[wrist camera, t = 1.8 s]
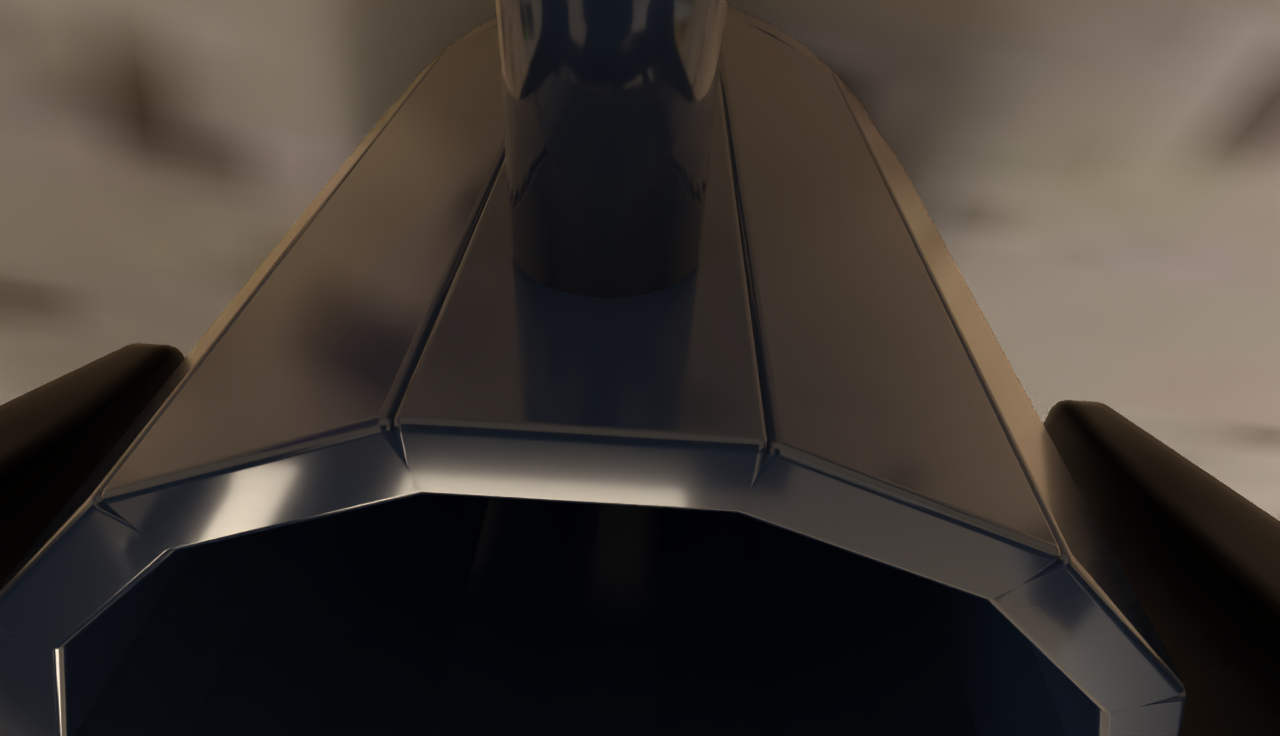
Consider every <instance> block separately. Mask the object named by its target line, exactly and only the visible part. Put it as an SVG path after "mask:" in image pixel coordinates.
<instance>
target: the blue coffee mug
mask: <svg viewBox="0 0 1280 736" xmlns="http://www.w3.org/2000/svg"><path fill="white" fill-rule="evenodd" d="M727 1H728V0H495V7H496V18H495V19H493V20H491V21H489V22H487V23H485V24H483V25H481V26H479V27H477V28H476V29H474V30H473V31H471V32H470V33H469V34H467V35H466V36H464V37H463V38H461V39H460V40H458V41H457V42H454V43H452V44H451V45H450V46H449V47H447V48H444V49H443V50H442V51H441V52H440V53H439V55H438V56H437V57H436V58H435V59H434V60H433V61H432V62H431V63H430V65H429V66H428V67H427V68H426V69H425V70H423V71H422V72H421V73H420V74H419V75H418V77H417V78H416V79H415V80H414V81H413V83H412V84H411V85H410V86H409V88H408V89H407V90H406V91H405V92H404V94H403V95H402V96H401V97H400V98H399V99H398V100H397V101H396V102H395V104H394V105H393V106H392V107H391V108H390V109H389V110H388V111H387V112H386V114H385V115H384V116H383V117H382V118H381V119H380V120H379V121H378V122H377V124H376V125H375V126H374V127H373V128H372V129H371V130H370V132H369V133H368V134H367V135H366V136H365V138H364V139H363V140H362V141H361V143H360V144H359V145H358V146H357V147H356V149H355V150H354V151H353V152H352V154H351V155H350V156H349V157H348V159H347V160H346V161H345V162H344V163H343V165H342V166H341V167H340V168H339V170H338V171H337V172H336V173H335V175H334V176H333V177H332V178H331V179H330V181H329V182H328V183H327V184H326V186H325V187H324V188H323V189H322V190H321V192H320V193H319V194H318V195H317V197H316V198H315V199H314V200H313V202H312V203H311V204H310V205H309V206H308V208H307V209H306V210H305V211H304V213H303V214H302V215H301V216H300V218H299V219H298V220H297V221H296V222H295V224H294V225H293V226H292V227H291V229H290V230H289V231H288V232H287V233H286V235H285V236H284V237H283V238H282V240H281V241H280V242H279V243H278V245H277V246H276V247H275V248H274V249H273V251H272V252H271V253H270V254H269V256H268V257H267V258H266V259H265V261H264V262H263V263H262V264H261V265H260V267H259V268H258V269H257V270H256V272H255V273H254V274H253V275H252V276H251V278H250V279H249V280H248V281H247V283H246V284H245V285H244V286H243V288H242V289H241V290H240V291H239V292H238V294H237V295H236V296H235V297H234V299H233V300H232V301H231V302H230V304H229V305H228V306H227V307H226V308H225V310H224V311H223V312H222V313H221V315H220V316H219V317H218V318H217V320H216V321H215V322H214V323H213V324H212V326H211V327H210V328H209V329H208V331H207V332H206V333H205V334H204V335H203V337H202V338H201V339H200V340H199V342H198V343H197V344H196V345H195V347H194V348H193V349H192V350H191V351H190V353H189V354H188V355H187V356H186V358H185V359H184V360H183V361H182V363H181V364H180V365H179V366H178V367H177V369H176V370H175V371H174V372H173V374H172V375H171V376H170V377H169V378H168V380H167V381H166V382H165V383H164V385H163V386H162V387H161V388H160V390H159V391H158V392H157V393H156V394H155V396H154V397H153V398H152V399H151V401H150V402H149V403H148V404H147V406H146V407H145V408H144V409H143V410H142V412H141V413H140V414H139V415H138V417H137V418H136V419H135V420H134V421H133V423H132V424H131V425H130V426H129V428H128V429H127V430H126V431H125V433H124V434H123V435H122V436H121V437H120V439H119V440H118V441H117V442H116V444H115V445H114V446H113V447H112V449H111V450H110V451H109V452H108V453H107V455H106V456H105V457H104V458H103V460H102V461H101V462H100V463H99V465H98V466H97V467H96V468H95V469H94V471H93V472H92V473H91V474H90V476H89V477H88V478H87V479H86V480H85V482H84V483H83V484H82V485H81V487H80V488H79V489H78V490H77V492H76V493H75V494H74V495H73V496H72V498H71V499H70V500H69V501H68V503H67V504H66V505H65V506H64V508H63V509H62V510H61V511H60V512H59V514H58V515H57V516H56V517H55V519H54V520H53V521H52V522H51V523H50V525H49V526H48V527H47V528H46V530H45V531H44V532H43V533H42V535H41V536H40V537H39V538H38V539H37V541H36V542H35V543H34V544H33V546H32V547H31V548H30V549H29V551H28V552H27V553H26V554H25V555H24V557H23V558H22V559H21V560H20V562H19V563H18V564H17V565H16V566H15V568H14V569H13V570H12V571H11V573H10V574H9V575H8V576H7V578H6V579H5V580H4V581H3V582H2V584H1V585H0V736H1181V730H1182V724H1183V718H1184V712H1185V705H1186V699H1187V698H1186V690H1185V688H1184V684H1183V680H1182V679H1181V677H1180V675H1179V673H1178V671H1177V669H1176V668H1175V666H1174V664H1173V662H1172V660H1171V658H1170V657H1169V655H1168V653H1167V651H1166V649H1165V647H1164V645H1163V644H1162V642H1161V640H1160V638H1159V636H1158V634H1157V633H1156V631H1155V629H1154V627H1153V625H1152V623H1151V622H1150V620H1149V618H1148V616H1147V614H1146V612H1145V611H1144V609H1143V607H1142V605H1141V603H1140V601H1139V600H1138V598H1137V596H1136V594H1135V592H1134V590H1133V589H1132V587H1131V585H1130V583H1129V581H1128V579H1127V578H1126V576H1125V574H1124V572H1123V570H1122V568H1121V567H1120V565H1119V563H1118V561H1117V559H1116V557H1115V556H1114V554H1113V552H1112V550H1111V548H1110V546H1109V544H1108V543H1107V541H1106V539H1105V537H1104V535H1103V533H1102V532H1101V530H1100V528H1099V526H1098V524H1097V522H1096V521H1095V519H1094V517H1093V515H1092V513H1091V511H1090V510H1089V508H1088V506H1087V504H1086V502H1085V500H1084V499H1083V497H1082V495H1081V493H1080V491H1079V489H1078V488H1077V486H1076V484H1075V482H1074V480H1073V478H1072V477H1071V475H1070V473H1069V471H1068V469H1067V467H1066V466H1065V464H1064V462H1063V460H1062V458H1061V456H1060V454H1059V453H1058V451H1057V449H1056V447H1055V445H1054V443H1053V442H1052V440H1051V438H1050V436H1049V434H1048V432H1047V431H1046V429H1045V427H1044V425H1043V423H1042V421H1041V420H1040V418H1039V416H1038V414H1037V412H1036V410H1035V409H1034V407H1033V405H1032V403H1031V401H1030V399H1029V398H1028V396H1027V394H1026V392H1025V390H1024V388H1023V387H1022V385H1021V383H1020V381H1019V379H1018V377H1017V376H1016V374H1015V372H1014V370H1013V368H1012V366H1011V365H1010V363H1009V361H1008V359H1007V357H1006V355H1005V353H1004V352H1003V350H1002V348H1001V346H1000V344H999V342H998V341H997V339H996V337H995V335H994V333H993V331H992V330H991V328H990V326H989V324H988V322H987V320H986V319H985V317H984V315H983V313H982V311H981V309H980V308H979V306H978V304H977V302H976V300H975V298H974V297H973V295H972V293H971V291H970V289H969V287H968V286H967V284H966V282H965V280H964V278H963V276H962V275H961V273H960V271H959V269H958V267H957V265H956V264H955V262H954V260H953V258H952V256H951V254H950V252H949V251H948V249H947V247H946V245H945V243H944V241H943V240H942V238H941V236H940V234H939V232H938V230H937V229H936V227H935V225H934V223H933V221H932V219H931V218H930V216H929V214H928V212H927V210H926V208H925V207H924V205H923V203H922V201H921V199H920V197H919V196H918V194H917V192H916V190H915V188H914V186H913V185H912V183H911V181H910V179H909V177H908V175H907V174H906V172H905V170H904V168H903V166H902V164H901V163H900V161H899V159H898V158H897V157H896V155H895V154H894V153H893V151H892V150H891V148H890V147H889V146H888V144H887V143H886V142H885V140H884V139H883V138H882V136H881V135H880V133H879V132H878V131H877V129H876V127H875V126H874V124H873V122H872V121H871V119H870V118H869V116H868V114H867V113H866V111H865V110H864V108H863V106H862V105H861V103H860V101H859V100H858V99H857V98H856V97H855V96H854V94H853V93H852V92H851V91H850V90H849V89H848V87H847V86H846V85H845V84H844V83H843V82H842V80H841V79H840V78H839V77H838V76H837V75H836V73H835V72H834V71H833V70H831V69H830V68H829V67H828V66H827V65H826V64H824V63H823V62H822V61H821V60H820V59H819V58H817V57H816V56H815V55H814V54H813V53H812V52H811V51H809V50H808V49H807V48H806V47H805V46H803V45H802V44H800V43H799V42H797V41H795V40H794V39H792V38H791V37H789V36H788V35H786V34H784V33H783V32H781V31H780V30H778V29H776V28H775V27H773V26H772V25H770V24H768V23H766V22H764V21H762V20H759V19H757V18H755V17H753V16H750V15H748V14H746V13H744V12H741V11H739V10H737V9H735V8H732V7H730V6H727Z"/></svg>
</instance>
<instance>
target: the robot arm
mask: <svg viewBox="0 0 1280 736" xmlns="http://www.w3.org/2000/svg"><path fill="white" fill-rule="evenodd" d="M184 359H185V358H184V356H183V354H182V353H181V352H180V351H179V350H178V349H177V348H175V347H173V346H170V345H159V344H142V343H138V344H130V345H127V346H125V347H123V348H121V349H119V350H117V351H114V352H112V353H110V354H108V355H106V356H104V357H102V358H100V359H98V360H95V361H93V362H91V363H89V364H87V365H85V366H83V367H81V368H79V369H76V370H74V371H72V372H70V373H68V374H66V375H64V376H62V377H60V378H57V379H55V380H53V381H51V382H49V383H47V384H45V385H43V386H41V387H39V388H36V389H34V390H32V391H30V392H28V393H26V394H24V395H22V396H20V397H17V398H15V399H13V400H11V401H9V402H7V403H5V404H3V405H1V406H0V585H1V584H2V582H3V581H4V580H5V579H6V578H7V576H8V575H9V574H10V573H11V571H12V570H13V569H14V568H15V566H16V565H17V564H18V563H19V562H20V560H21V559H22V558H23V557H24V555H25V554H26V553H27V552H28V551H29V549H30V548H31V547H32V546H33V544H34V543H35V542H36V541H37V539H38V538H39V537H40V536H41V535H42V533H43V532H44V531H45V530H46V528H47V527H48V526H49V525H50V523H51V522H52V521H53V520H54V519H55V517H56V516H57V515H58V514H59V512H60V511H61V510H62V509H63V508H64V506H65V505H66V504H67V503H68V501H69V500H70V499H71V498H72V496H73V495H74V494H75V493H76V492H77V490H78V489H79V488H80V487H81V485H82V484H83V483H84V482H85V480H86V479H87V478H88V477H89V476H90V474H91V473H92V472H93V471H94V469H95V468H96V467H97V466H98V465H99V463H100V462H101V461H102V460H103V458H104V457H105V456H106V455H107V453H108V452H109V451H110V450H111V449H112V447H113V446H114V445H115V444H116V442H117V441H118V440H119V439H120V437H121V436H122V435H123V434H124V433H125V431H126V430H127V429H128V428H129V426H130V425H131V424H132V423H133V421H134V420H135V419H136V418H137V417H138V415H139V414H140V413H141V412H142V410H143V409H144V408H145V407H146V406H147V404H148V403H149V402H150V401H151V399H152V398H153V397H154V396H155V394H156V393H157V392H158V391H159V390H160V388H161V387H162V386H163V385H164V383H165V382H166V381H167V380H168V378H169V377H170V376H171V375H172V374H173V372H174V371H175V370H176V369H177V367H178V366H179V365H180V364H181V363H182V361H183V360H184ZM1043 425H1044V427H1045V429H1046V431H1047V432H1048V434H1049V436H1050V438H1051V440H1052V442H1053V443H1054V445H1055V447H1056V449H1057V451H1058V453H1059V454H1060V456H1061V458H1062V460H1063V462H1064V464H1065V466H1066V467H1067V469H1068V471H1069V473H1070V475H1071V477H1072V478H1073V480H1074V482H1075V484H1076V486H1077V488H1078V489H1079V491H1080V493H1081V495H1082V497H1083V499H1084V500H1085V502H1086V504H1087V506H1088V508H1089V510H1090V511H1091V513H1092V515H1093V517H1094V519H1095V521H1096V522H1097V524H1098V526H1099V528H1100V530H1101V532H1102V533H1103V535H1104V537H1105V539H1106V541H1107V543H1108V544H1109V546H1110V548H1111V550H1112V552H1113V554H1114V556H1115V557H1116V559H1117V561H1118V563H1119V565H1120V567H1121V568H1122V570H1123V572H1124V574H1125V576H1126V578H1127V579H1128V581H1129V583H1130V585H1131V587H1132V589H1133V590H1134V592H1135V594H1136V596H1137V598H1138V600H1139V601H1140V603H1141V605H1142V607H1143V609H1144V611H1145V612H1146V614H1147V616H1148V618H1149V620H1150V622H1151V623H1152V625H1153V627H1154V629H1155V631H1156V633H1157V634H1158V636H1159V638H1160V640H1161V642H1162V644H1163V645H1164V647H1165V649H1166V651H1167V653H1168V655H1169V657H1170V658H1171V660H1172V662H1173V664H1174V666H1175V668H1176V669H1177V671H1178V673H1179V675H1180V677H1181V679H1182V680H1183V684H1184V688H1185V690H1186V698H1187V699H1186V705H1185V712H1184V718H1183V724H1182V730H1181V736H1280V521H1278V520H1277V519H1275V518H1274V517H1272V516H1271V515H1269V514H1268V513H1266V512H1265V511H1263V510H1262V509H1260V508H1259V507H1257V506H1256V505H1255V504H1253V503H1252V502H1250V501H1249V500H1247V499H1246V498H1244V497H1243V496H1241V495H1240V494H1238V493H1237V492H1235V491H1234V490H1232V489H1231V488H1229V487H1228V486H1226V485H1225V484H1223V483H1222V482H1220V481H1219V480H1217V479H1216V478H1214V477H1213V476H1211V475H1210V474H1208V473H1207V472H1205V471H1204V470H1202V469H1201V468H1199V467H1198V466H1196V465H1195V464H1193V463H1192V462H1190V461H1189V460H1187V459H1186V458H1184V457H1183V456H1181V455H1180V454H1179V453H1177V452H1176V451H1174V450H1173V449H1171V448H1170V447H1168V446H1167V445H1165V444H1164V443H1162V442H1161V441H1159V440H1158V439H1156V438H1155V437H1153V436H1152V435H1150V434H1149V433H1147V432H1146V431H1144V430H1143V429H1141V428H1140V427H1138V426H1137V425H1135V424H1134V423H1132V422H1131V421H1129V420H1128V419H1126V418H1125V417H1123V416H1122V415H1120V414H1119V413H1117V412H1116V411H1114V410H1113V409H1111V408H1110V407H1108V406H1107V405H1105V404H1102V403H1099V402H1091V401H1074V400H1064V401H1060V402H1058V403H1057V404H1056V405H1054V406H1053V407H1052V409H1051V410H1050V412H1049V414H1048V416H1047V418H1046V420H1045V421H1044V423H1043Z"/></svg>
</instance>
